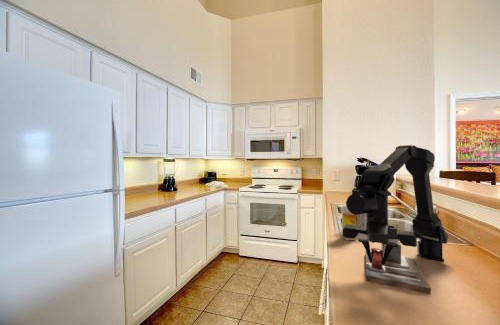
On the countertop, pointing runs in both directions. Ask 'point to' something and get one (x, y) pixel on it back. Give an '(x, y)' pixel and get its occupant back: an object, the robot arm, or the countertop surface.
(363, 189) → the robot arm
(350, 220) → the beer can
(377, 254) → the lever
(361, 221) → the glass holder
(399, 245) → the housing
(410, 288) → the base
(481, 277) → the countertop surface
